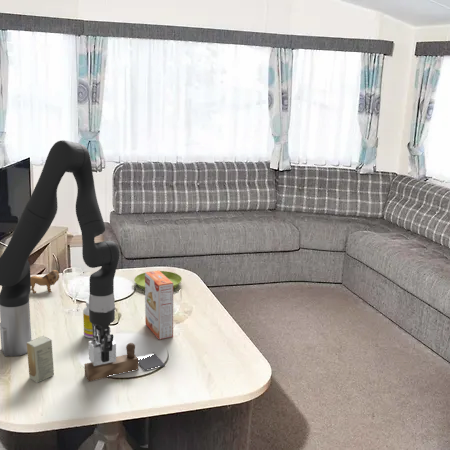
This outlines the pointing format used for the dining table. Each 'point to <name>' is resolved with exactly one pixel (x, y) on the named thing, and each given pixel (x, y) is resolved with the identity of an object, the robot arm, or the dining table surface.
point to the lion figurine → (45, 280)
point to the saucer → (170, 275)
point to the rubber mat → (151, 362)
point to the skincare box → (40, 359)
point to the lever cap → (96, 353)
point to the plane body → (113, 365)
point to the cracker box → (159, 304)
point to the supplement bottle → (87, 322)
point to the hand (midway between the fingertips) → (102, 357)
